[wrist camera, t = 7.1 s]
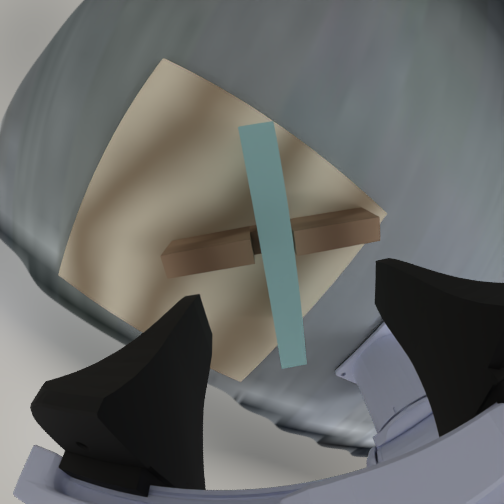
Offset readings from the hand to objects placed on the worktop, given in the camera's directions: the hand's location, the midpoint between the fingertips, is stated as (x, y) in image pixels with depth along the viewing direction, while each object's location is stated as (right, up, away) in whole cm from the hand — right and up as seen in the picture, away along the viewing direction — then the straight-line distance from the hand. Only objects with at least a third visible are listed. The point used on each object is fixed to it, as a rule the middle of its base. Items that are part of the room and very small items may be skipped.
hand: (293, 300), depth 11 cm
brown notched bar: (0, +3, +9) cm, 10 cm away
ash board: (-5, +3, +10) cm, 11 cm away
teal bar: (0, +3, +9) cm, 9 cm away
